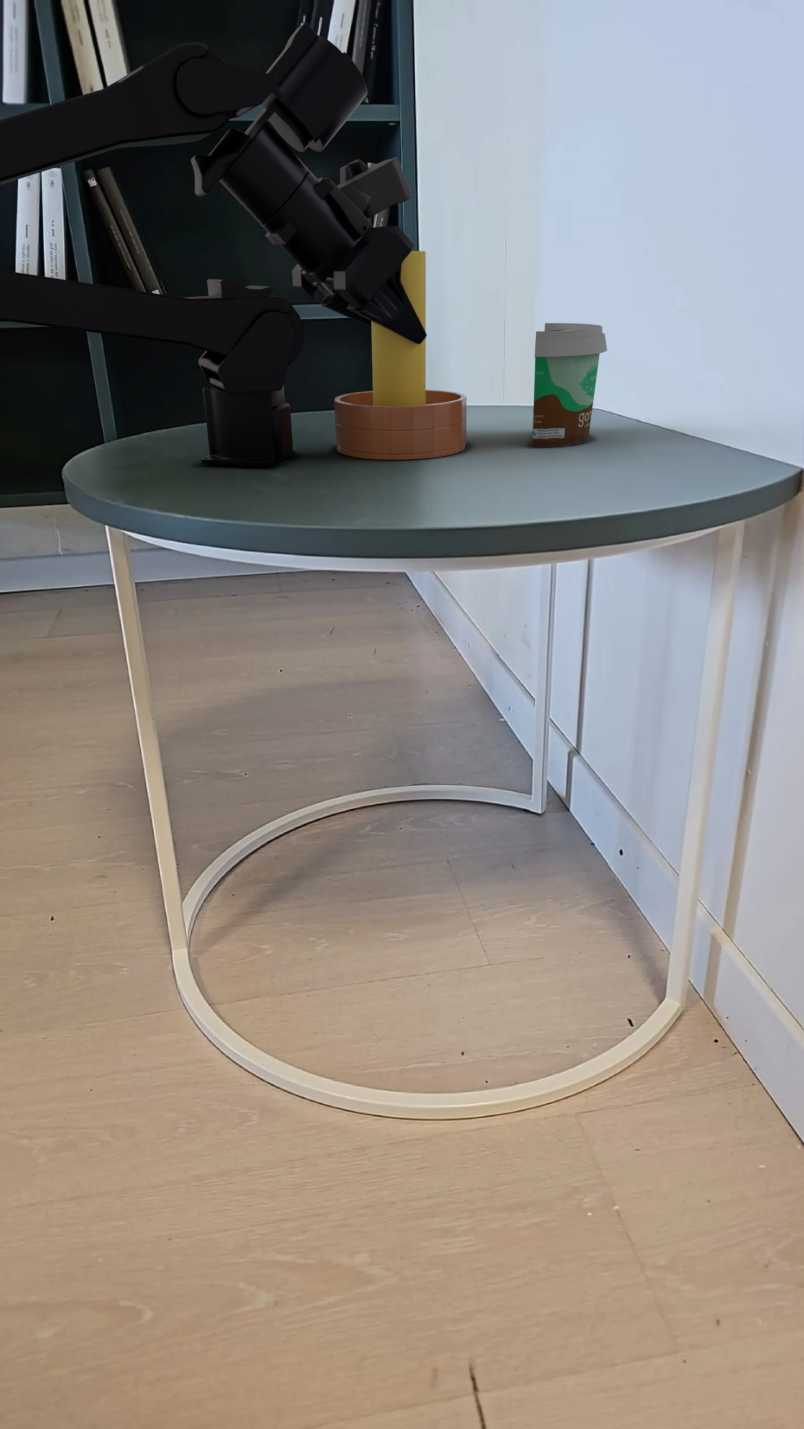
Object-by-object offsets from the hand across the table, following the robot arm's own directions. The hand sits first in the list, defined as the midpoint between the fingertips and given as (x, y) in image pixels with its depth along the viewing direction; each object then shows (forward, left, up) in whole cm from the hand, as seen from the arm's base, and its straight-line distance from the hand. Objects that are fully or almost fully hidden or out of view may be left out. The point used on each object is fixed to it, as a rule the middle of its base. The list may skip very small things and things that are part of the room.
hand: (413, 338), depth 86 cm
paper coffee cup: (+13, +7, -10) cm, 18 cm away
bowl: (-1, -1, -9) cm, 10 cm away
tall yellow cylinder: (-1, -1, -7) cm, 7 cm away
